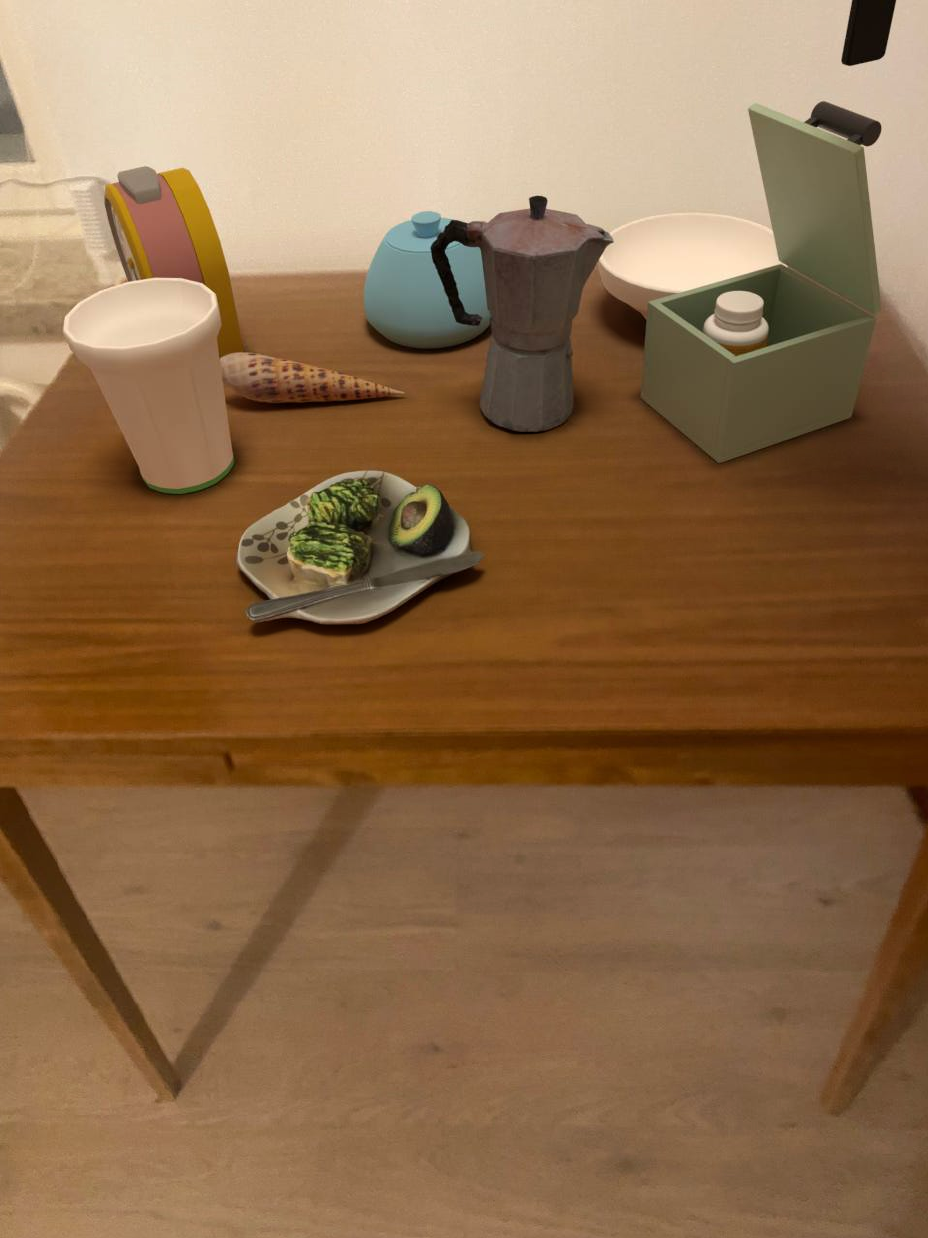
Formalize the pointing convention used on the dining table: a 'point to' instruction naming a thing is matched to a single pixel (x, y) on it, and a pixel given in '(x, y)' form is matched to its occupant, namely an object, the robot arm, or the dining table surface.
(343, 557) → the avocado toast plate
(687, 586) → the dining table surface
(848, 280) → the box lid
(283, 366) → the seashell
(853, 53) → the robot arm
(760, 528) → the dining table surface
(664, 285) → the bowl
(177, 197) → the alarm clock
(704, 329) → the supplement bottle
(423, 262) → the sugar bowl
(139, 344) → the cup
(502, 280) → the moka pot
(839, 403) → the green hinged box
